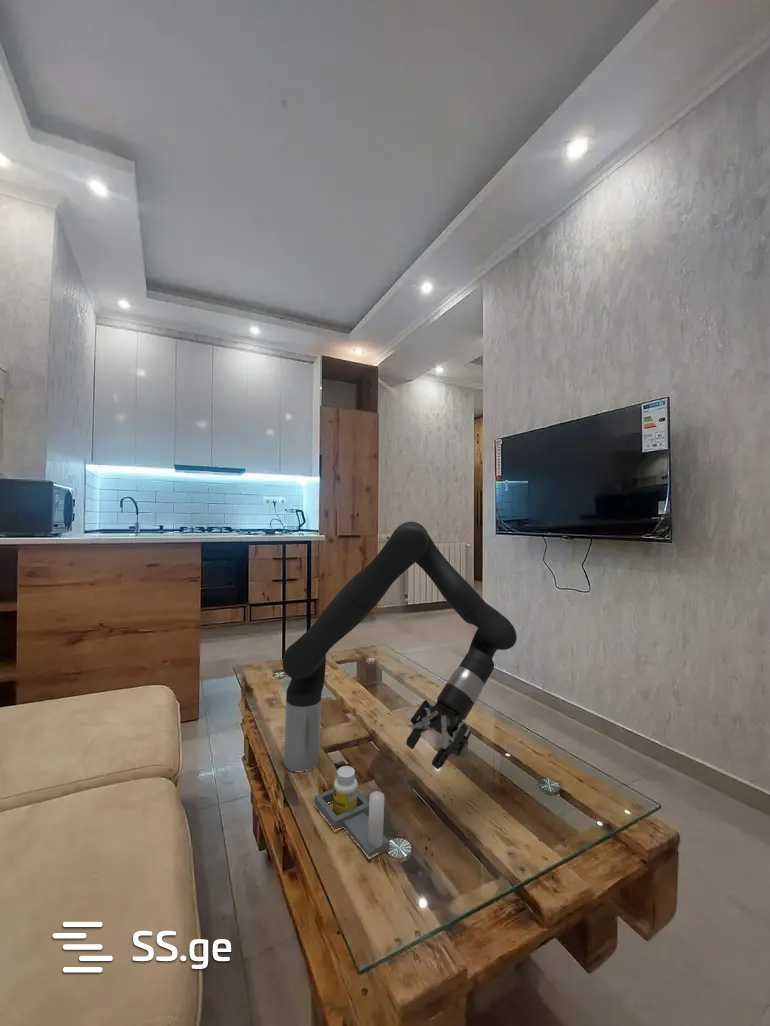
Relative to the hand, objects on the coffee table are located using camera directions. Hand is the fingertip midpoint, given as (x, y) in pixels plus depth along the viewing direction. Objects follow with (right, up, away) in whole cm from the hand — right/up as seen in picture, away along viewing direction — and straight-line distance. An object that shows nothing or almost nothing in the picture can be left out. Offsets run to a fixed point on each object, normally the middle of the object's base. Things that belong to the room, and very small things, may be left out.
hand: (421, 756), depth 93 cm
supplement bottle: (-17, -15, +4) cm, 23 cm away
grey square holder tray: (-15, -15, 0) cm, 21 cm away
